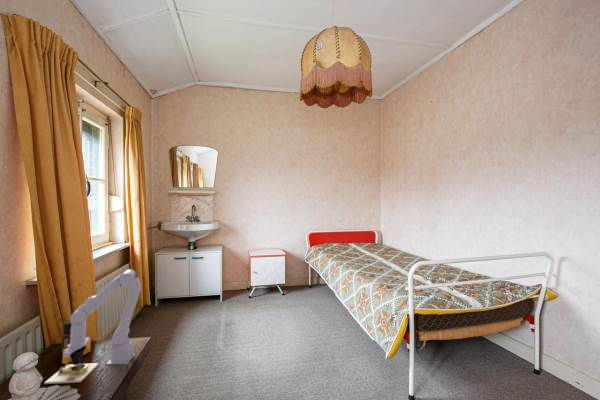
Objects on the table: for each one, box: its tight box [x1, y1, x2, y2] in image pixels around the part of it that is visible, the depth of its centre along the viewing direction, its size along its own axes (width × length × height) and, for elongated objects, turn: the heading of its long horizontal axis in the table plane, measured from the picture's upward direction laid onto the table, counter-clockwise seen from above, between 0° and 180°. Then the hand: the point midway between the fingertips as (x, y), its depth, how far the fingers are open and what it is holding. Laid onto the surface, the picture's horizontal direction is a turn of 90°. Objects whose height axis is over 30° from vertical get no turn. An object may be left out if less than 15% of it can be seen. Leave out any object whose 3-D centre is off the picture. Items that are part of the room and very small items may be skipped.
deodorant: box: [61, 319, 71, 354], centre depth 140 cm, size 6×6×15 cm
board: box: [44, 362, 100, 385], centre depth 121 cm, size 14×13×4 cm
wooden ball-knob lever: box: [58, 363, 88, 375], centre depth 121 cm, size 11×6×2 cm, turn 98°
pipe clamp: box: [61, 338, 92, 365], centre depth 134 cm, size 12×4×6 cm, turn 170°
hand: (76, 364), depth 126 cm, fingers closed
